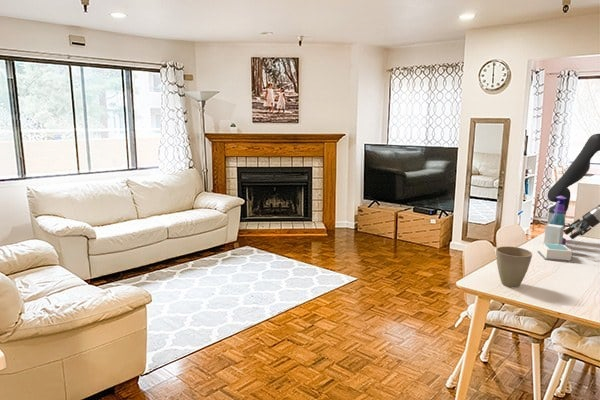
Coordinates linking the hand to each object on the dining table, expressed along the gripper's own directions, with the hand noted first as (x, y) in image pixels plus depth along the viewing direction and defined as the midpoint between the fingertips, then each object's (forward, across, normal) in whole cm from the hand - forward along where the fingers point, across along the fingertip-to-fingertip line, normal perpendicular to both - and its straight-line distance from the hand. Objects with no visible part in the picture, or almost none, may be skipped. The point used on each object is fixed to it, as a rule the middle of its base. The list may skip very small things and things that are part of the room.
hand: (567, 235), depth 242 cm
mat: (+13, 0, +4) cm, 14 cm away
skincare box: (+11, -13, +7) cm, 18 cm away
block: (+6, 0, +7) cm, 9 cm away
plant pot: (+36, +50, -19) cm, 65 cm away
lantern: (+8, -25, +11) cm, 28 cm away
